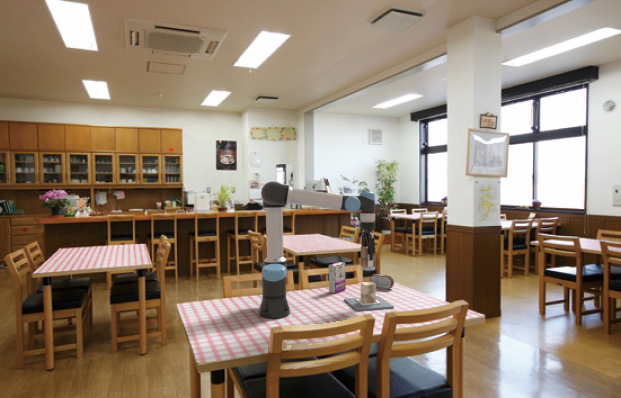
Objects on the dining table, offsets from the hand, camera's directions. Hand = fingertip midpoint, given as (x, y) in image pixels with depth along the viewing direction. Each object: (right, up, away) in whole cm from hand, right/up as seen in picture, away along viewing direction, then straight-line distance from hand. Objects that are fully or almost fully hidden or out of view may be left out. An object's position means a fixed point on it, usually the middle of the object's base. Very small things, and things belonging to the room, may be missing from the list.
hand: (368, 265), depth 213 cm
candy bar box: (-14, -20, +28) cm, 37 cm away
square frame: (0, -20, +1) cm, 21 cm away
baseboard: (0, -20, +1) cm, 21 cm away
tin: (+13, -20, +34) cm, 42 cm away
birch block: (0, -19, 0) cm, 20 cm away
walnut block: (0, 0, 0) cm, 0 cm away
